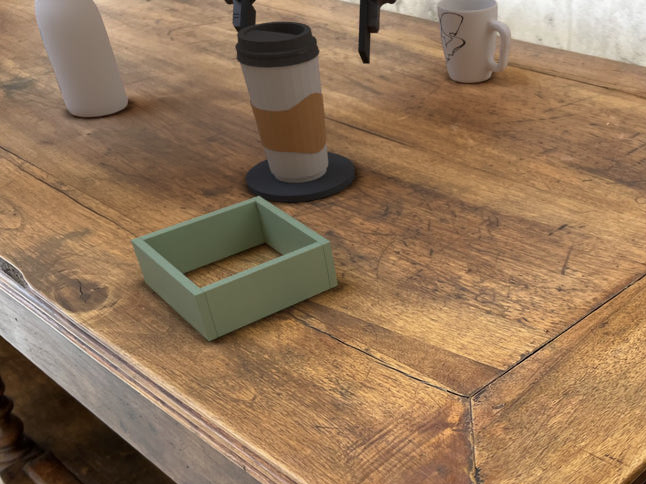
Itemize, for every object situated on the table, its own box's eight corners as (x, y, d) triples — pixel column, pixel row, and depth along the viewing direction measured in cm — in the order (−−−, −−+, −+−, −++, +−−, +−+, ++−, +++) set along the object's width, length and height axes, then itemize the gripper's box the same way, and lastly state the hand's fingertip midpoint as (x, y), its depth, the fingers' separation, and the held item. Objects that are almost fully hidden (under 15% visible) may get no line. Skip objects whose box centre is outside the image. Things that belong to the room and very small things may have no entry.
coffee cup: (297, 151, 94) (272, 16, 85) (353, 165, 91) (333, 26, 81) (246, 177, 89) (213, 36, 79) (303, 194, 85) (275, 48, 76)
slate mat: (227, 178, 91) (226, 171, 90) (318, 148, 97) (317, 142, 96) (282, 213, 84) (280, 206, 83) (375, 179, 90) (375, 172, 89)
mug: (526, 77, 117) (527, 4, 110) (492, 94, 111) (490, 17, 105) (465, 63, 122) (462, -8, 116) (429, 78, 117) (424, 5, 110)
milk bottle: (141, 104, 109) (91, -60, 97) (91, 122, 104) (32, -48, 92) (106, 95, 113) (53, -65, 100) (56, 111, 108) (-6, -55, 95)
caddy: (145, 283, 73) (130, 239, 70) (268, 237, 80) (258, 195, 77) (209, 341, 66) (194, 295, 63) (338, 285, 72) (330, 241, 70)
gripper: (422, -93, 97) (418, 73, 95) (219, -91, 98) (210, 74, 95) (413, -140, 89) (408, 40, 87) (193, -138, 90) (183, 40, 88)
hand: (304, 58), depth 91 cm, fingers open, 13 cm apart
